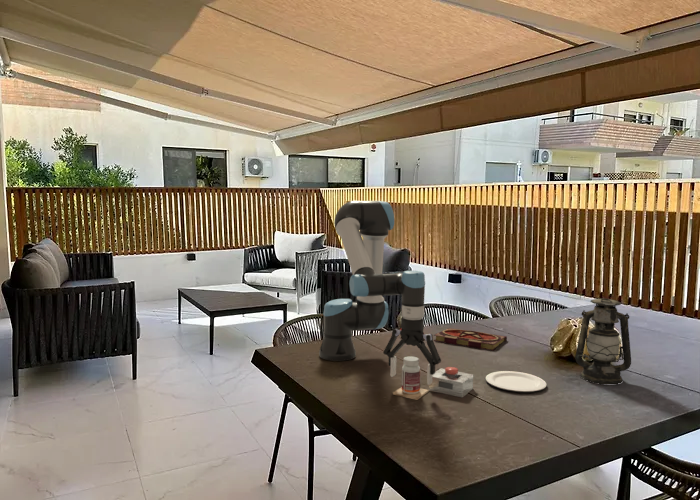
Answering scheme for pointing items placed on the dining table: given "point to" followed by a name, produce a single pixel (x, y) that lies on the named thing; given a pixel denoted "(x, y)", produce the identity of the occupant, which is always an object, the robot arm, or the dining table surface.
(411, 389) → the pill bottle
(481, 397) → the dining table surface
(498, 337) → the book
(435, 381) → the grey boxy piece
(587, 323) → the lantern
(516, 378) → the plate
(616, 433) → the dining table surface
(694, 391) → the dining table surface
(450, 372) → the lever
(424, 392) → the cork pad
